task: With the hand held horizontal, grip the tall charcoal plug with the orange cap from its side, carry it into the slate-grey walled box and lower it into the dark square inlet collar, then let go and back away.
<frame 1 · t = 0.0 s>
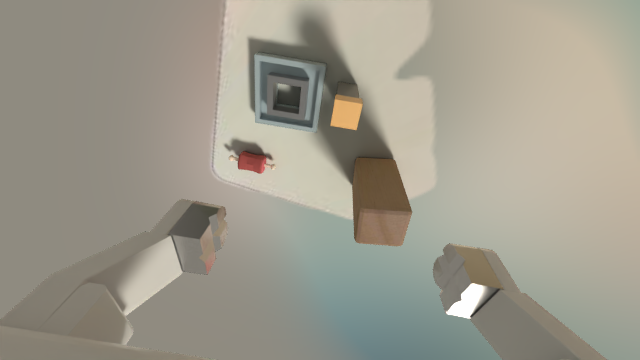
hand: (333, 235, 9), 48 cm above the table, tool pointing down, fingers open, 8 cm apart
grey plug: (346, 92, 53), on the table
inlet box: (290, 92, 54), on the table
wooden block: (372, 173, 64), on the table
meat: (255, 157, 64), on the table
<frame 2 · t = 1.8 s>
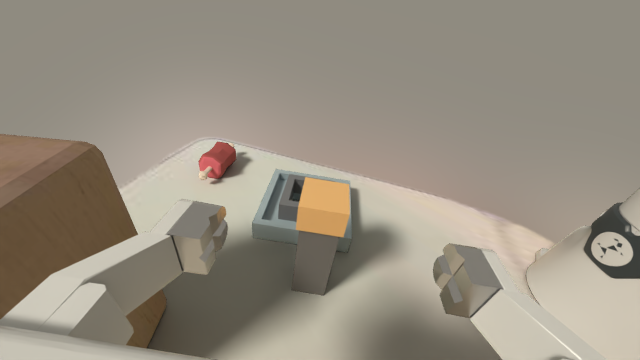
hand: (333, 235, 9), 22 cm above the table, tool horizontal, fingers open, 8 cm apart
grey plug: (309, 278, 31), on the table
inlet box: (306, 212, 41), on the table
wooden block: (91, 354, 22), on the table
meat: (219, 170, 48), on the table
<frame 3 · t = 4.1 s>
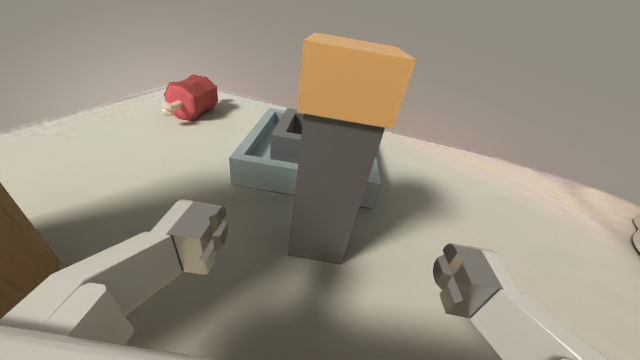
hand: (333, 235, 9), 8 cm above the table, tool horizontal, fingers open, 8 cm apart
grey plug: (317, 239, 20), on the table
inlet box: (310, 160, 29), on the table
meat: (195, 114, 36), on the table
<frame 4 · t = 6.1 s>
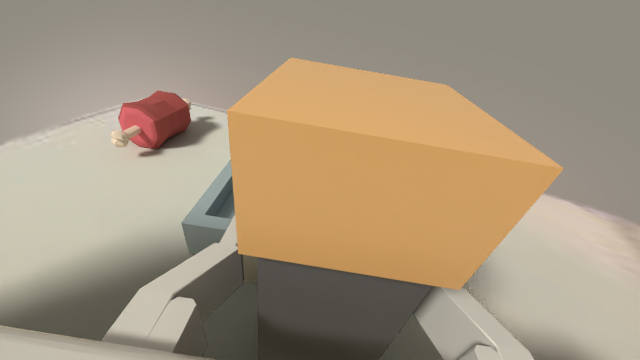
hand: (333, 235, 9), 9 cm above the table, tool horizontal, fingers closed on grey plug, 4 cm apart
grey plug: (305, 354, 13), on the table, touching gripper
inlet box: (301, 204, 23), on the table
meat: (162, 138, 30), on the table
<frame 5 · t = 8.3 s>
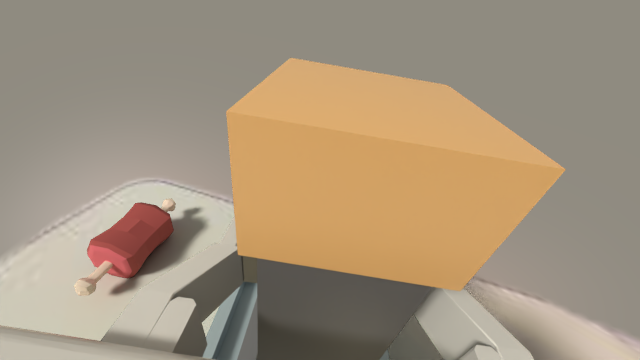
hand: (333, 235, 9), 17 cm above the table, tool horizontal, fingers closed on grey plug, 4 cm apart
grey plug: (305, 355, 13), point 9 cm above the table, touching gripper
meat: (141, 254, 26), on the table
when the fingers open (10 cm above the table, at t = 10.7 s): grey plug drops 1 cm, resting in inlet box.
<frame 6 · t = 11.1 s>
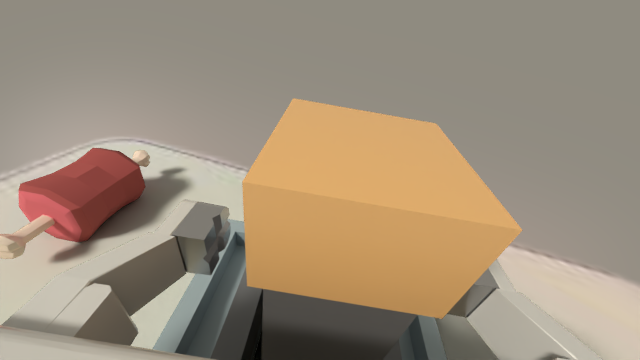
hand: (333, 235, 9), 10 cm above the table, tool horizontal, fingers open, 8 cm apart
meat: (102, 215, 20), on the table
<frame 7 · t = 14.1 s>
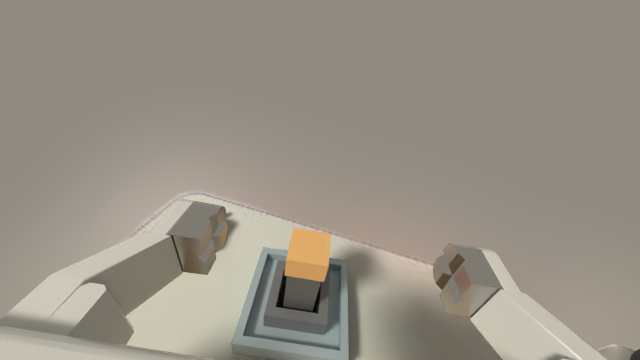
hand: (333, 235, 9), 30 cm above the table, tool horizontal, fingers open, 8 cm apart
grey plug: (297, 305, 36), resting in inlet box
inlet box: (297, 305, 36), on the table
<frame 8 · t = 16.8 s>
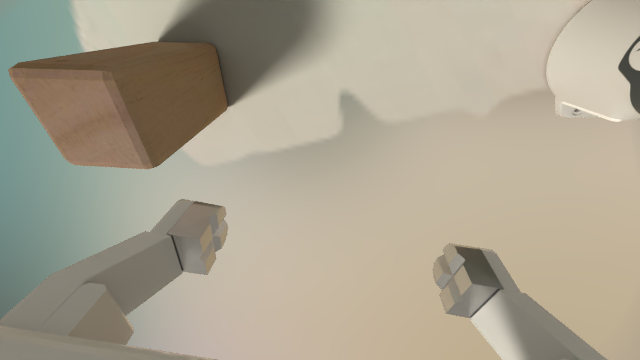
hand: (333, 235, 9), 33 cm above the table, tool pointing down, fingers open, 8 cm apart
wooden block: (195, 77, 39), on the table
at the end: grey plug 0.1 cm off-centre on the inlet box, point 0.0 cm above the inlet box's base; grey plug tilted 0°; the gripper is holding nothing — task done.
